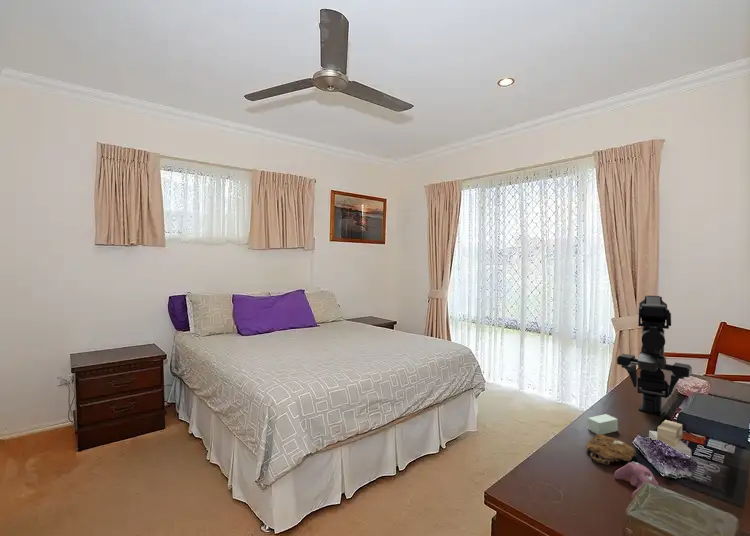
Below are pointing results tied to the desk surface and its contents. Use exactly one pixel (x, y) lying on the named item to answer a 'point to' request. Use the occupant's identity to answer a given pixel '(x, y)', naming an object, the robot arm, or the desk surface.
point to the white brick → (679, 446)
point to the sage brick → (602, 424)
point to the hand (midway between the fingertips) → (652, 390)
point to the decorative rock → (609, 449)
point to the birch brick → (669, 433)
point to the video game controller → (635, 475)
